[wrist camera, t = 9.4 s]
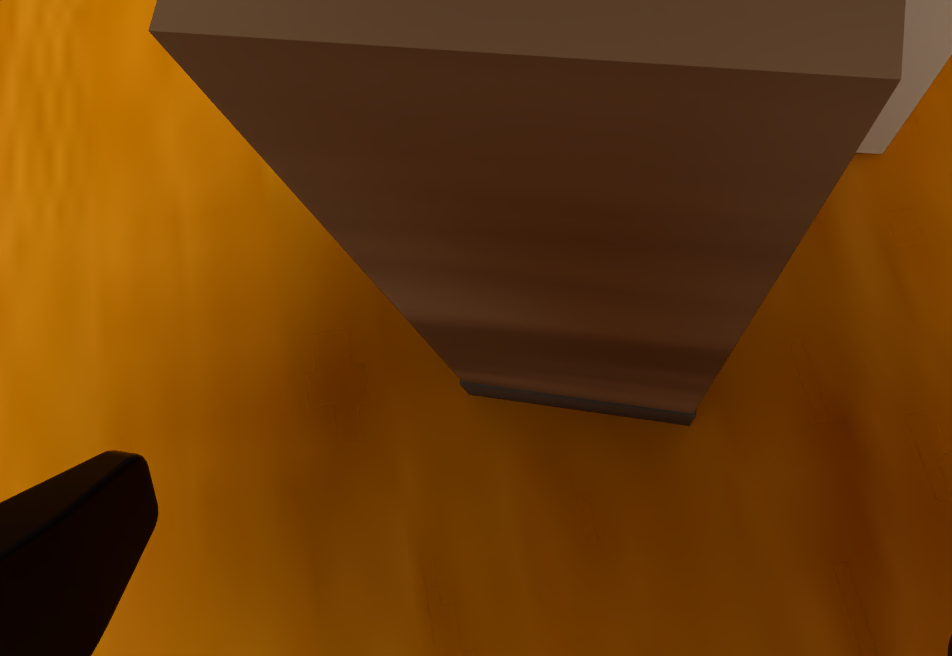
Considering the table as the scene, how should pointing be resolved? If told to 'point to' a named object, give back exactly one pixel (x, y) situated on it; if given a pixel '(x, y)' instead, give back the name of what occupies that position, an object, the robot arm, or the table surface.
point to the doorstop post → (556, 165)
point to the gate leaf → (914, 67)
